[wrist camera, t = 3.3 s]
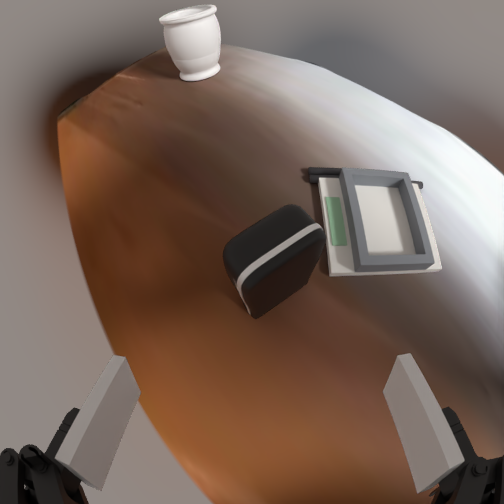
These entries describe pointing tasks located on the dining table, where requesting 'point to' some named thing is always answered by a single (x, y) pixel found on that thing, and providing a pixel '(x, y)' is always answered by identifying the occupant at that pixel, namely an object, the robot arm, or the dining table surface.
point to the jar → (193, 41)
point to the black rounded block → (273, 258)
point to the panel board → (376, 224)
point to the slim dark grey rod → (334, 174)
